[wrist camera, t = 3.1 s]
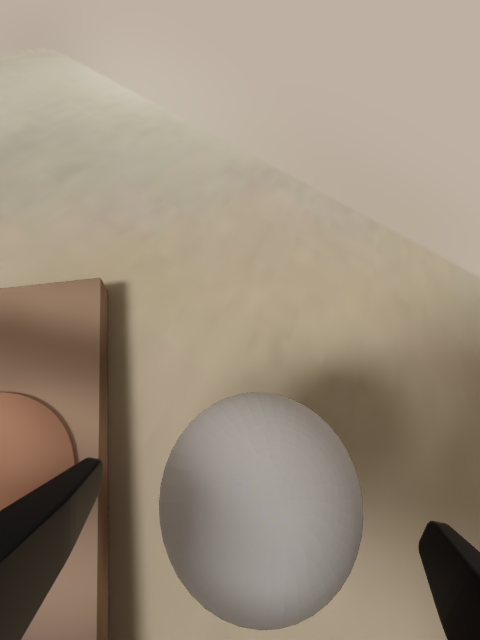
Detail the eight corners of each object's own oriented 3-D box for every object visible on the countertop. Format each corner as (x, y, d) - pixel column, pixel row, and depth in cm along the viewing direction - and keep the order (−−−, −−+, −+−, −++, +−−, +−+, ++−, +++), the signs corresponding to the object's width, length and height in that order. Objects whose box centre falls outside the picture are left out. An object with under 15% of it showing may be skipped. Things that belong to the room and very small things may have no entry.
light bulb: (261, 593, 13) (356, 792, 5) (155, 512, 15) (74, 554, 6) (314, 467, 16) (438, 446, 7) (222, 407, 17) (234, 327, 8)
